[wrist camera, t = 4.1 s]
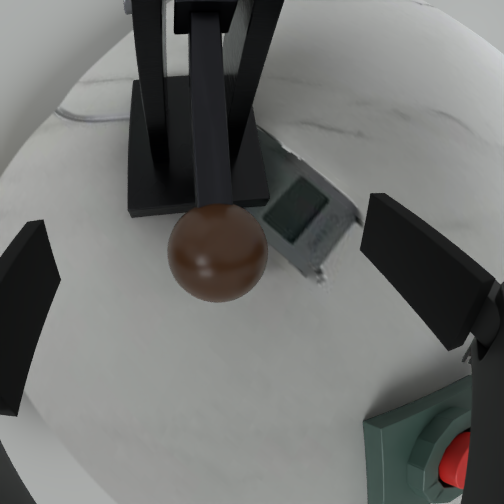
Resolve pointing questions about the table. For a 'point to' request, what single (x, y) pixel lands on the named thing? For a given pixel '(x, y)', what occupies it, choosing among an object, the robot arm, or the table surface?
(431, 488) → the button block
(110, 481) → the table surface
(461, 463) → the button
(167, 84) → the bracket
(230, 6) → the lever
